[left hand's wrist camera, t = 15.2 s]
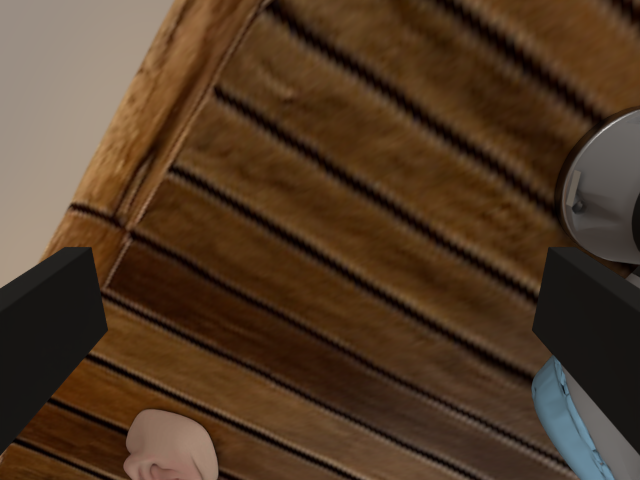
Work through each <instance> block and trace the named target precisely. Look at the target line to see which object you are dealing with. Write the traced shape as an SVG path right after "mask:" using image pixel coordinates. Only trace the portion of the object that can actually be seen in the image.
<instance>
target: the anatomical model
mask: <svg viewBox="0 0 640 480" xmlns="http://www.w3.org/2000/svg"><path fill="white" fill-rule="evenodd" d="M126 446H127V449H128V451H129V452H130V453H131V455H130V456H129V457H128V458H127V459H126V461H125V463H124V470H125V471H126V473H127V474H128V475H129V476H130V477H131V479H132V480H217V478H218V463H217V457H216V453H215V450H214V446H213V444H212V441H211V439H210V436H209V435H208V433H207V431H206V430H205V429H204V428H203V427H202V426H201V425H200V424H198V423H197V422H195V421H194V420H192V419H189V418H187V417H184V416H182V415H178V414H175V413H171V412H167V411H162V410H155V409H148V410H144V411H142V412H140V413H139V414H138V416H137V417H136V418H135V420H134V422H133V424H132V426H131V427H130V430H129V432H128V436H127V440H126Z"/></svg>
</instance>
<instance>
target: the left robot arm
mask: <svg viewBox="0 0 640 480" xmlns="http://www.w3.org/2000/svg"><path fill="white" fill-rule="evenodd" d="M555 205H556V212H557V216H558V219H559V221H560V224H561V226H562V228H563V229H564V231H565V232H566V234H567V235H568V236H569V237H570V238H571V239H572V240H573V241H574V242H575V243H576V244H578V245H579V246H581V247H582V248H584V249H586V250H587V251H589V252H590V253H592V254H594V255H596V256H598V257H601V258H603V259H607V260H611V261H618V262H625V263H632V264H640V106H636V107H632V108H628V109H625V110H622V111H620V112H617V113H615V114H613V115H611V116H609V117H607V118H606V119H604V120H603V121H601V122H600V123H598V124H597V125H595V126H594V127H593V128H592V129H591V130H589V131H588V132H587V133H586V134H585V135H584V136H583V137H582V138H581V139H580V140H579V141H578V143H577V144H576V145H575V146H574V148H573V149H572V150H571V152H570V153H569V155H568V157H567V158H566V160H565V162H564V164H563V166H562V169H561V171H560V174H559V177H558V181H557V186H556V193H555ZM107 331H108V328H107V323H106V318H105V313H104V308H103V303H102V298H101V293H100V288H99V283H98V278H97V273H96V268H95V263H94V258H93V253H92V248H91V247H64V248H63V249H61V250H59V251H58V252H56V253H55V254H53V255H52V256H50V257H49V258H47V259H45V260H44V261H42V262H41V263H39V264H38V265H36V266H35V267H33V268H31V269H30V270H28V271H27V272H25V273H24V274H22V275H20V276H19V277H17V278H16V279H14V280H13V281H11V282H10V283H8V284H7V285H5V286H3V287H2V288H0V455H1V454H2V453H3V452H4V451H5V450H6V448H7V447H8V446H9V445H10V444H11V443H12V441H13V440H14V439H15V438H16V437H17V436H18V434H19V433H20V432H21V431H22V430H23V429H24V427H25V426H26V425H27V424H28V423H29V422H30V420H31V419H32V418H33V417H34V416H35V415H36V413H37V412H38V411H39V410H40V409H41V408H42V406H43V405H44V404H45V403H46V402H47V401H48V399H49V398H50V397H51V396H52V395H53V394H54V392H55V391H56V390H57V389H58V388H59V387H60V385H61V384H62V383H63V382H64V381H65V380H66V379H67V377H68V376H69V375H70V374H71V373H72V372H73V370H74V369H75V368H76V367H77V366H78V365H79V363H80V362H81V361H82V360H83V359H84V358H85V356H86V355H87V354H88V353H89V352H90V351H91V349H92V348H93V347H94V346H95V345H96V344H97V342H98V341H99V340H100V339H101V338H102V337H103V335H104V334H105V333H106V332H107ZM532 331H533V332H534V333H535V334H536V335H537V337H538V338H539V339H540V340H541V341H542V342H543V344H544V345H545V346H546V347H547V348H548V349H549V351H550V352H551V353H552V354H553V355H552V356H551V357H550V359H549V360H548V361H547V362H546V363H545V365H544V366H543V367H542V368H541V369H540V370H539V371H538V373H537V374H536V375H535V377H534V380H533V382H532V398H533V401H534V406H535V410H536V413H537V415H538V417H539V420H540V422H541V424H542V426H543V428H544V429H545V431H546V433H547V435H548V436H549V438H550V440H551V441H552V443H553V444H554V446H555V447H556V449H557V450H558V452H559V453H560V454H561V456H562V457H563V458H564V460H565V461H566V462H567V464H568V465H569V466H570V468H571V469H572V470H573V471H574V473H575V474H576V475H577V476H578V477H579V478H580V480H640V265H639V266H638V267H637V268H636V269H635V270H634V271H633V272H632V273H631V274H630V275H629V276H628V277H627V278H626V279H624V278H623V277H621V276H620V275H618V274H616V273H615V272H613V271H612V270H610V269H609V268H607V267H605V266H604V265H602V264H601V263H599V262H598V261H596V260H595V259H593V258H591V257H590V256H588V255H587V254H585V253H584V252H582V251H581V250H579V249H577V248H576V247H549V248H548V253H547V258H546V263H545V268H544V273H543V278H542V283H541V288H540V293H539V298H538V303H537V308H536V313H535V318H534V323H533V328H532Z"/></svg>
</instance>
